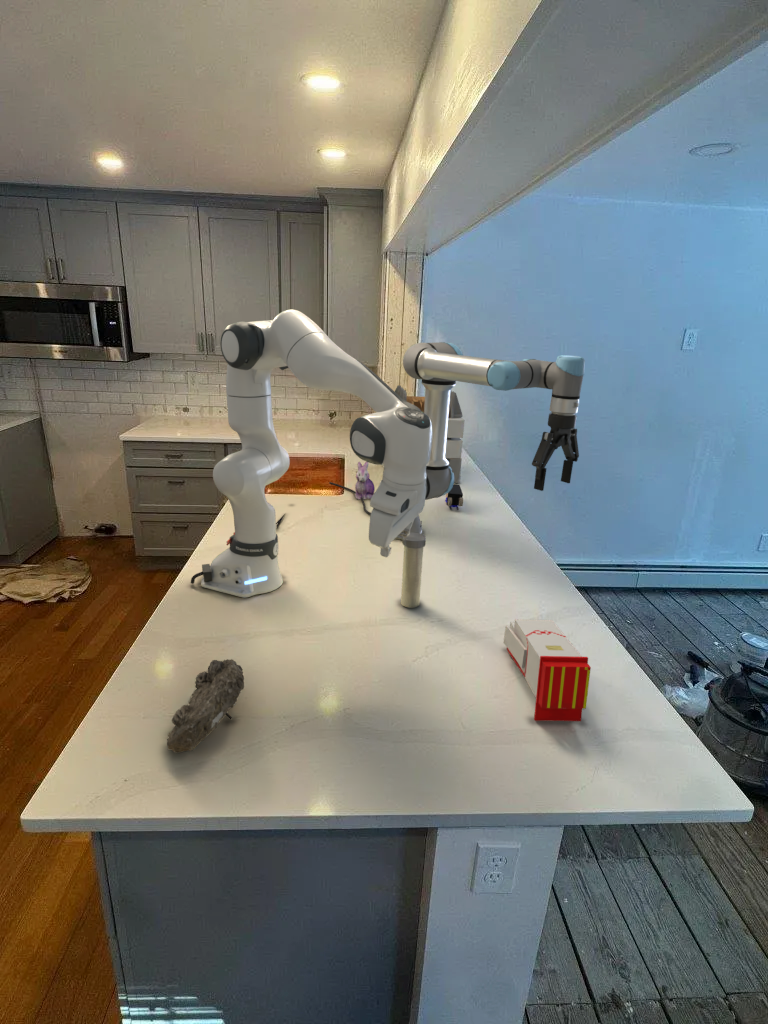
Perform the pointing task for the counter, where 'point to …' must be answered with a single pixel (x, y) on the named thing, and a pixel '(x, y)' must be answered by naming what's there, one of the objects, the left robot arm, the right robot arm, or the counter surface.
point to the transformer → (453, 429)
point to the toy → (549, 668)
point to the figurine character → (454, 497)
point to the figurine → (363, 483)
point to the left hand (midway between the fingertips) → (395, 545)
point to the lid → (414, 540)
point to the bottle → (411, 577)
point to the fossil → (206, 705)
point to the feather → (279, 521)
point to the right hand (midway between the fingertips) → (552, 485)
